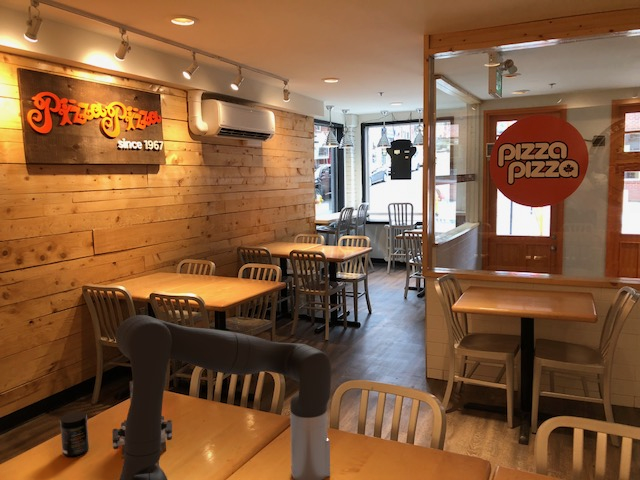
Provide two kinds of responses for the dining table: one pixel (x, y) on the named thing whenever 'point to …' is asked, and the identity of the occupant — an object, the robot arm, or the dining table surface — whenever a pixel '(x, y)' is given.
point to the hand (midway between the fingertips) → (142, 420)
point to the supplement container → (74, 434)
